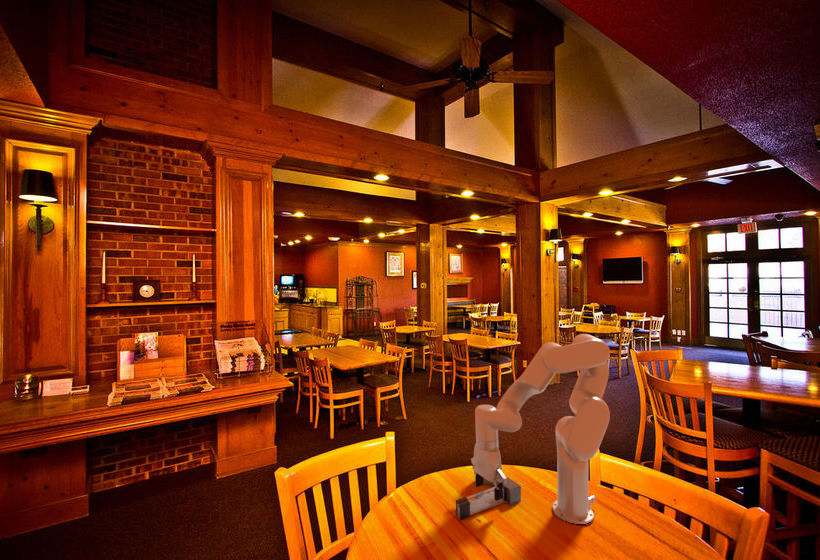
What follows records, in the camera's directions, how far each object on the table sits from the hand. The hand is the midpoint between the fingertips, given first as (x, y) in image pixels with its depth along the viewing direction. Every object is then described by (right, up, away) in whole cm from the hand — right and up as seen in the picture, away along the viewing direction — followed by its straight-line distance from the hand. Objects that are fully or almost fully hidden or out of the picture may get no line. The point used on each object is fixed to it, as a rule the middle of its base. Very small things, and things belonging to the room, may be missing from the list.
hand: (488, 492), depth 128 cm
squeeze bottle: (+3, -5, +16) cm, 17 cm away
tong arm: (-3, -5, -2) cm, 6 cm away
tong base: (0, -5, 0) cm, 5 cm away
